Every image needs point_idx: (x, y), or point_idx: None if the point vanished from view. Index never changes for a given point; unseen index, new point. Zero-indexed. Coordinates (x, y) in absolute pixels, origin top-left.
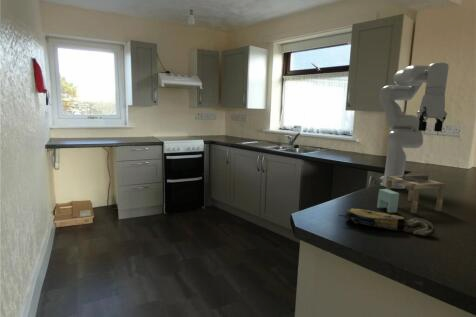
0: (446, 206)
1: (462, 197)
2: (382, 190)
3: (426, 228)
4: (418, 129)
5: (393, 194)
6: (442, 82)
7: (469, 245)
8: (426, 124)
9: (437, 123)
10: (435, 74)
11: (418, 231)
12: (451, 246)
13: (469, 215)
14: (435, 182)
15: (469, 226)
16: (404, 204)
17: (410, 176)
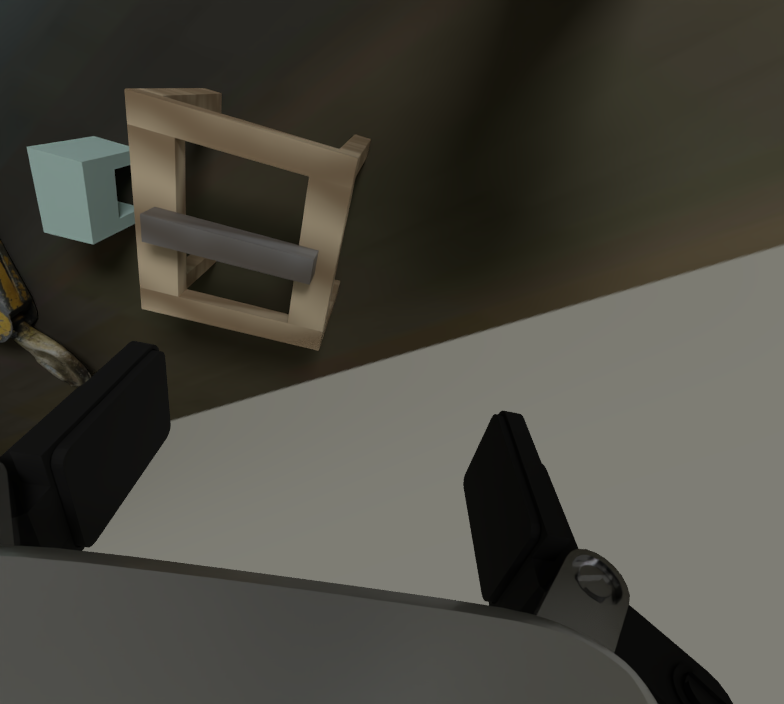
0: (429, 274)
1: (683, 242)
2: (32, 172)
3: (59, 377)
4: (128, 345)
5: (60, 234)
6: None
7: None
8: (116, 510)
9: (507, 550)
10: None
11: (41, 364)
12: None
13: (387, 354)
14: (294, 319)
15: (272, 387)
16: (272, 171)
17: (171, 248)
